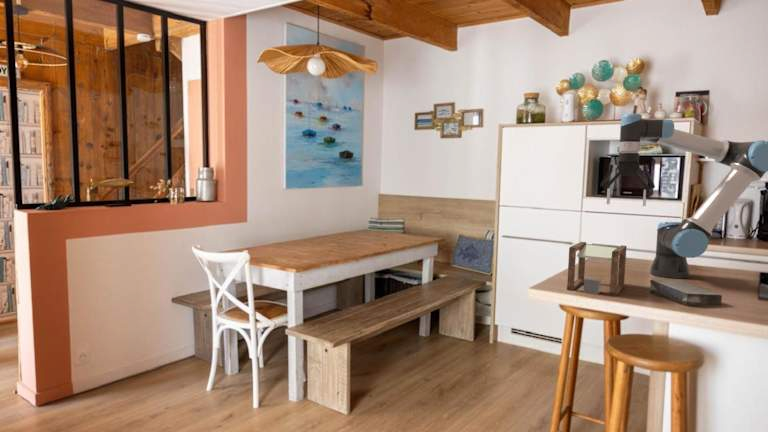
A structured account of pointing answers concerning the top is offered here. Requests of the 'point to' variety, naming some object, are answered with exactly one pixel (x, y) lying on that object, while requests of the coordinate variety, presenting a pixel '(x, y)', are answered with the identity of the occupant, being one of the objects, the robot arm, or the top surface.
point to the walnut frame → (617, 256)
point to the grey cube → (592, 285)
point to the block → (684, 293)
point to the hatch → (597, 251)
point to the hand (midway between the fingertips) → (625, 205)
